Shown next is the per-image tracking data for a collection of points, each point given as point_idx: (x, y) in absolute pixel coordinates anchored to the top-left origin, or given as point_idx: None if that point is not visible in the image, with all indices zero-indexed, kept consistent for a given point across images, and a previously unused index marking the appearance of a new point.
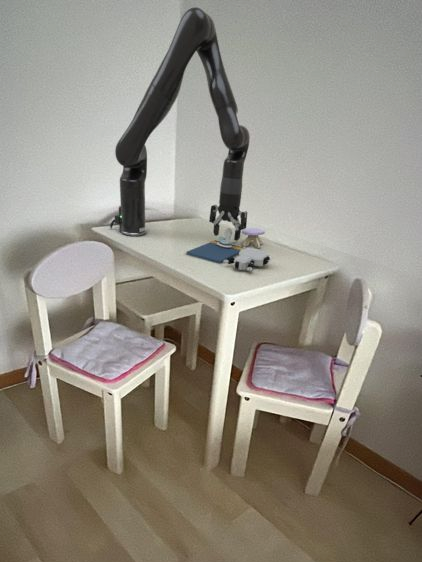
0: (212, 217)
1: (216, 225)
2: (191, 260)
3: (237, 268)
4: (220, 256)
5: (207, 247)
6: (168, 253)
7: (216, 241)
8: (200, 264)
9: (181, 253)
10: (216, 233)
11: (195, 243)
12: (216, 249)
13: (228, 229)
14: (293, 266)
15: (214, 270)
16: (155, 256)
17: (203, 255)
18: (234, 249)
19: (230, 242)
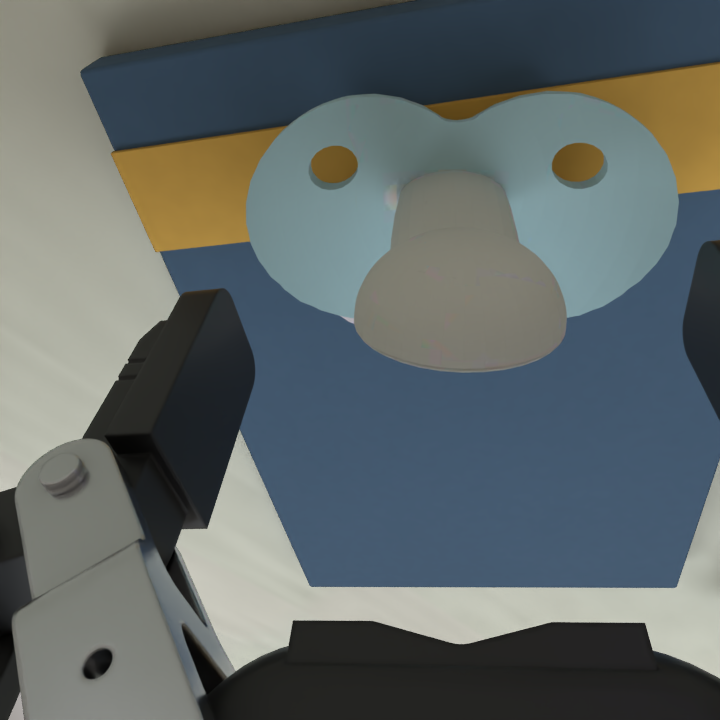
0: (9, 714)
1: (182, 516)
2: (438, 610)
3: None
4: (621, 526)
5: (327, 425)
6: (225, 603)
7: (161, 126)
8: None
9: (272, 567)
10: (240, 378)
11: (45, 319)
12: (450, 410)
13: (451, 366)
14: None
15: (690, 644)
16: (237, 655)
17: (474, 578)
18: None
19: (488, 136)
